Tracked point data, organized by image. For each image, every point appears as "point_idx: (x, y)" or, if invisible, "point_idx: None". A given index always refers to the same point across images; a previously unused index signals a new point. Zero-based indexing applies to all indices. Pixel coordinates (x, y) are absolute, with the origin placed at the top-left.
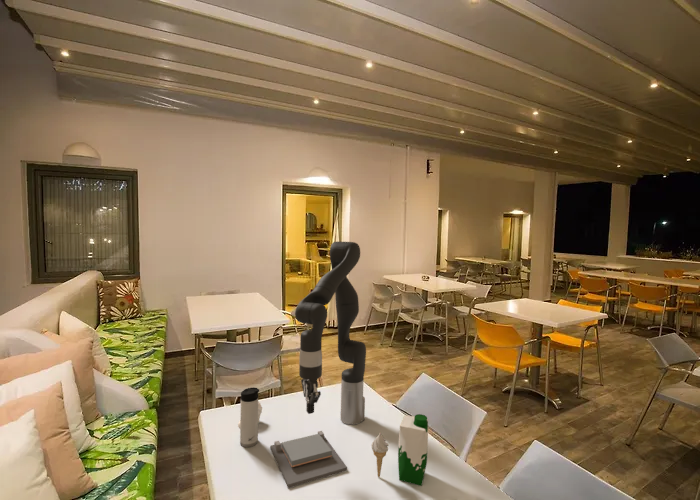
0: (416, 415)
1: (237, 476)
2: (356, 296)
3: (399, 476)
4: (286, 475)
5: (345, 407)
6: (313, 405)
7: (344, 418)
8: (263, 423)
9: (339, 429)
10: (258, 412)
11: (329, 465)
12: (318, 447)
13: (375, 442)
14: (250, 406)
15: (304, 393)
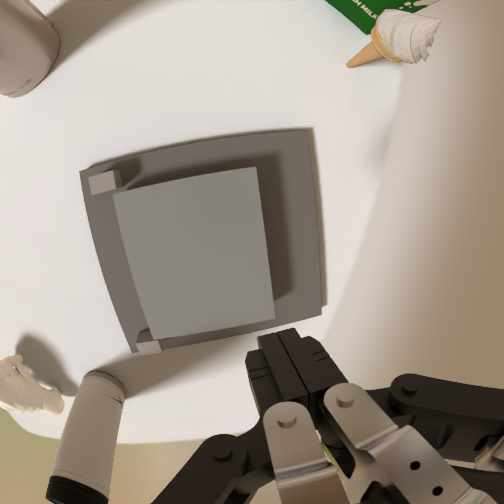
0: None
1: (238, 405)
2: None
3: (370, 30)
4: (286, 318)
5: (9, 65)
6: (340, 374)
7: (30, 80)
8: (20, 345)
9: (62, 102)
10: (6, 371)
11: (282, 184)
12: (217, 214)
13: (423, 48)
14: (106, 482)
15: (245, 500)
